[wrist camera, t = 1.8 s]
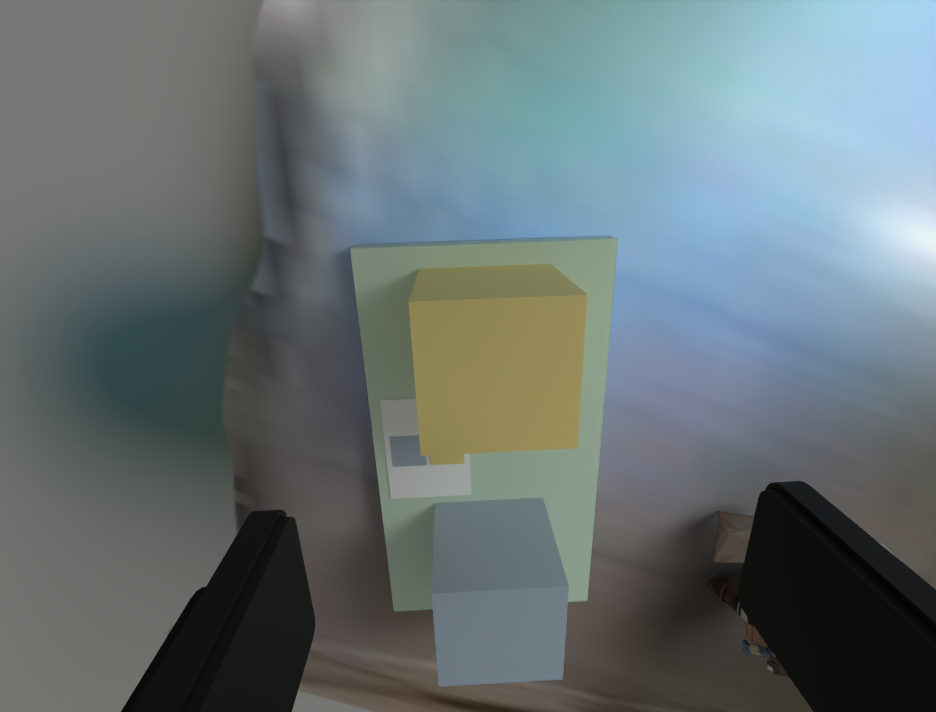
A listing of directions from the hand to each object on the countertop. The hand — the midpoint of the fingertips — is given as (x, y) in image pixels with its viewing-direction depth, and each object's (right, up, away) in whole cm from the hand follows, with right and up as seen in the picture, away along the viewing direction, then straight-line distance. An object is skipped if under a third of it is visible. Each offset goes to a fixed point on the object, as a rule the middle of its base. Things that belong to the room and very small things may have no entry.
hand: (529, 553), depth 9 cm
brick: (0, +5, +13) cm, 14 cm away
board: (0, -1, +16) cm, 16 cm away
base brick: (0, -7, +18) cm, 19 cm away
